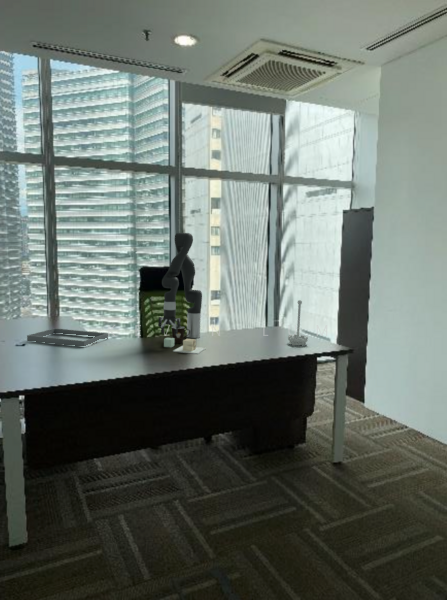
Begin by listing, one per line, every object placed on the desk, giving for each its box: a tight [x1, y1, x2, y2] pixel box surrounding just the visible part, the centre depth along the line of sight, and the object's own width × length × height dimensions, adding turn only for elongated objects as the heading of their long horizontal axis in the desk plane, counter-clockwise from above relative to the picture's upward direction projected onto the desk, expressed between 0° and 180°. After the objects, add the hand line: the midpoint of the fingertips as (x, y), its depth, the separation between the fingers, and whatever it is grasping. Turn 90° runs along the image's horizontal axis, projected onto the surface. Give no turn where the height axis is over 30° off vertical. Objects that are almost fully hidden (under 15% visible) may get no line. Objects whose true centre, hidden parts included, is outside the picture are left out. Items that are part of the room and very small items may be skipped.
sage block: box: [163, 337, 175, 348], centre depth 284 cm, size 5×5×5 cm
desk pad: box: [172, 345, 207, 355], centre depth 274 cm, size 14×16×1 cm
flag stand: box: [287, 299, 309, 346], centre depth 299 cm, size 13×13×30 cm
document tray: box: [26, 327, 109, 346], centre depth 291 cm, size 27×42×4 cm, turn 73°
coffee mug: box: [171, 326, 190, 344], centre depth 295 cm, size 12×9×10 cm
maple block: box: [182, 338, 197, 351], centre depth 273 cm, size 6×6×6 cm
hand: (169, 334), depth 283 cm, fingers open, 8 cm apart
